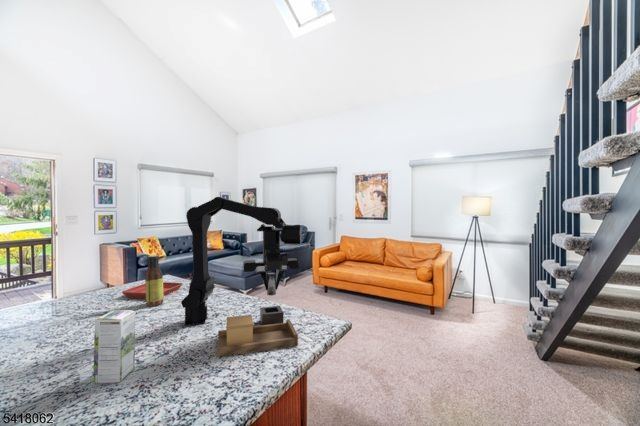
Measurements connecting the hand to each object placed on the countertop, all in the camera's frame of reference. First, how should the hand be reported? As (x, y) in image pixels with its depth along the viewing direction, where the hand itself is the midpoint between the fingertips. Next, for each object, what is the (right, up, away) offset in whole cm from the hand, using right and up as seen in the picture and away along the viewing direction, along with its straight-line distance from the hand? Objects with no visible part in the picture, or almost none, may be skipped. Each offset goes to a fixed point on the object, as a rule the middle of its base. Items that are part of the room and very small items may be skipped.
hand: (271, 289), depth 95 cm
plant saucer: (-60, -11, +33) cm, 70 cm away
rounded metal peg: (0, -2, 0) cm, 2 cm away
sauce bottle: (-51, -11, +18) cm, 55 cm away
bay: (-2, -12, -13) cm, 18 cm away
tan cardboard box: (-7, -12, -15) cm, 20 cm away
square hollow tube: (0, -12, 0) cm, 12 cm away
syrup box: (-31, -12, -31) cm, 45 cm away
